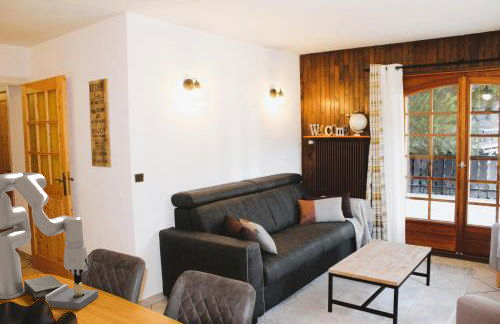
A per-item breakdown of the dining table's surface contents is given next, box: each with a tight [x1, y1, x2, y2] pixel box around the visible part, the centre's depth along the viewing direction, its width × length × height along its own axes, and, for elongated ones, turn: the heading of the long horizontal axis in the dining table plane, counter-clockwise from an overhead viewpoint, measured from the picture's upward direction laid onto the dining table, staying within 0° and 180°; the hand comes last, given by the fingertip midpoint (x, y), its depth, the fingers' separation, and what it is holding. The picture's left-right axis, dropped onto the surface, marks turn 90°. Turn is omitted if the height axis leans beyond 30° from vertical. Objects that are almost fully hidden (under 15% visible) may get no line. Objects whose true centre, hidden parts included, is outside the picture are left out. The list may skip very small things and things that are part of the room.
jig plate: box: [44, 283, 100, 310], centre depth 200 cm, size 18×14×5 cm
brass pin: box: [73, 282, 84, 298], centre depth 199 cm, size 4×4×9 cm
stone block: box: [23, 274, 64, 301], centre depth 212 cm, size 14×20×5 cm
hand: (78, 282), depth 198 cm, fingers closed
